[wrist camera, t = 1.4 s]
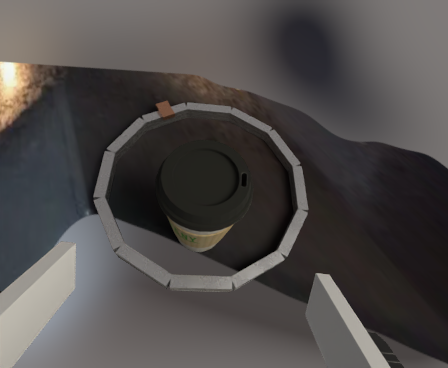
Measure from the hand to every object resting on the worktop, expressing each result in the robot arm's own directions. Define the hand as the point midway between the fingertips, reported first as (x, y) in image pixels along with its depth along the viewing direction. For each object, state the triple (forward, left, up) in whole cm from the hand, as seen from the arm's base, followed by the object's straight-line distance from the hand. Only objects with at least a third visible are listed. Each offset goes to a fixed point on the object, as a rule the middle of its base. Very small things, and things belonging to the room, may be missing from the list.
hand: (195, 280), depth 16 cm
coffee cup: (-9, +6, -22) cm, 25 cm away
